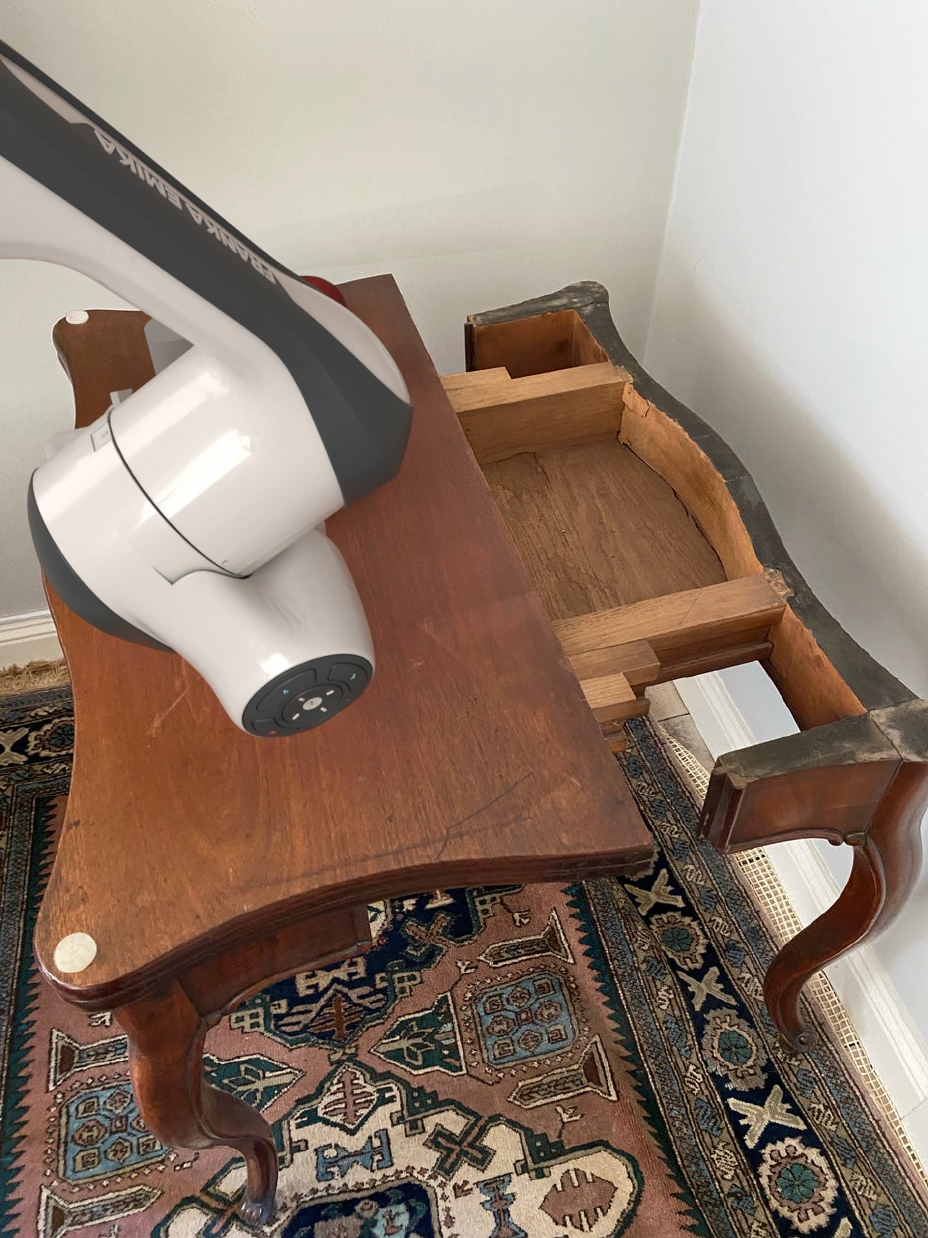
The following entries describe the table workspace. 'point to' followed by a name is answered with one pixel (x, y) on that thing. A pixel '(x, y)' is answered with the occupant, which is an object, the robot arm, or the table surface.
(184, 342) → the container
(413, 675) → the table surface
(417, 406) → the table surface
